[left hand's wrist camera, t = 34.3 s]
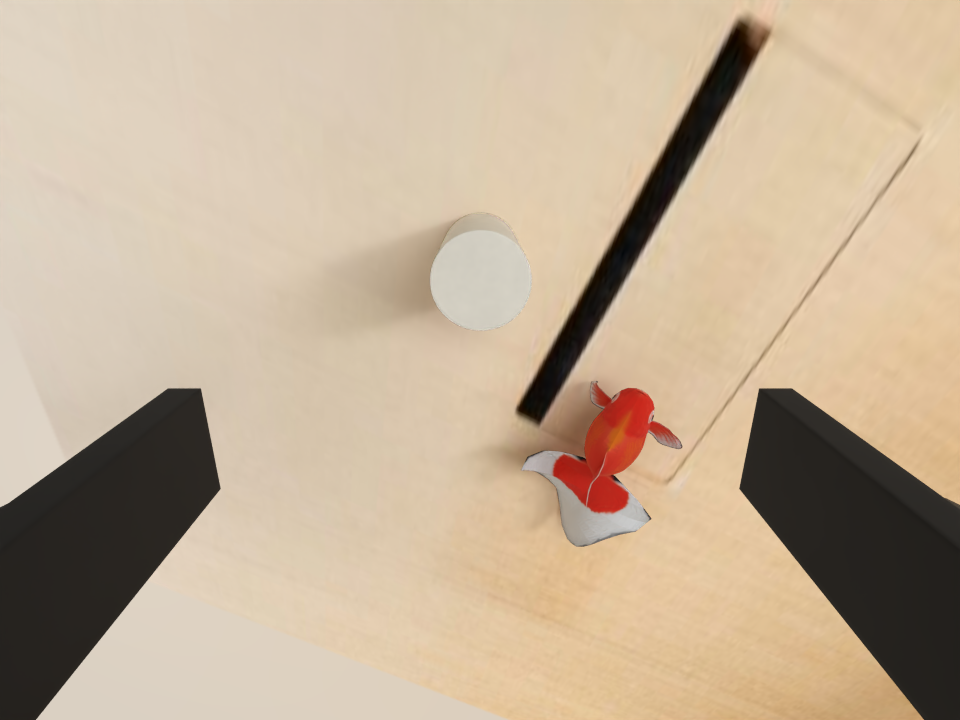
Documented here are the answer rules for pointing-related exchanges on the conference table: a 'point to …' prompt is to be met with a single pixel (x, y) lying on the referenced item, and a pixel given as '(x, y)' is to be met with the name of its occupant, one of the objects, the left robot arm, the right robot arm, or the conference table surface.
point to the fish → (603, 468)
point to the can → (480, 273)
